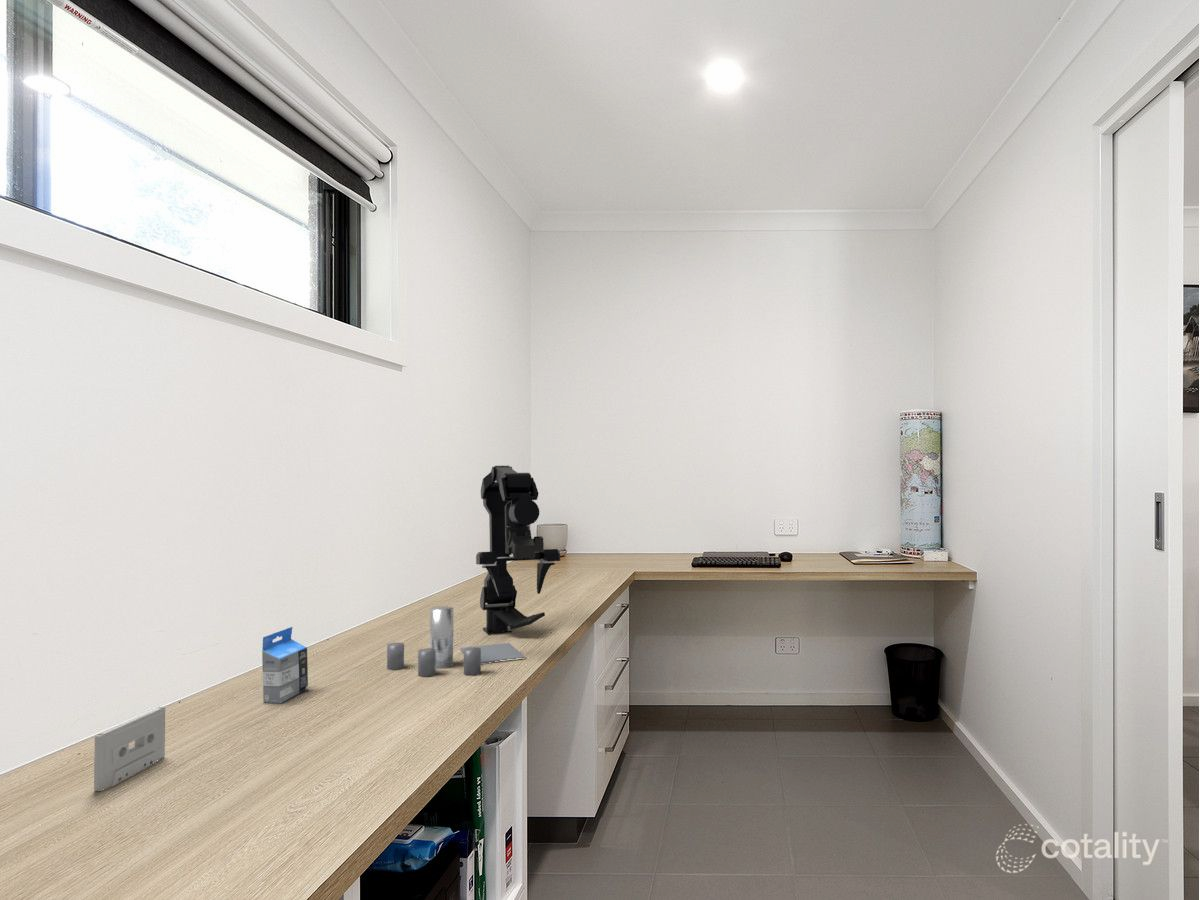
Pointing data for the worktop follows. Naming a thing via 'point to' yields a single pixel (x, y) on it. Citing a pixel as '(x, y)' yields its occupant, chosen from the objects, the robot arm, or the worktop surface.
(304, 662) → the label tape box
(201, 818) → the worktop surface
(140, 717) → the cassette
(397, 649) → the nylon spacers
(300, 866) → the worktop surface
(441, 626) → the ball
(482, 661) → the rubber mat
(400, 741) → the worktop surface
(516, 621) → the handheld gaming console
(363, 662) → the worktop surface
